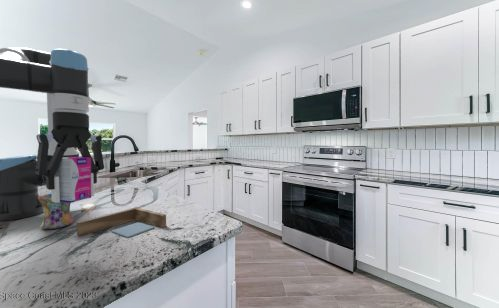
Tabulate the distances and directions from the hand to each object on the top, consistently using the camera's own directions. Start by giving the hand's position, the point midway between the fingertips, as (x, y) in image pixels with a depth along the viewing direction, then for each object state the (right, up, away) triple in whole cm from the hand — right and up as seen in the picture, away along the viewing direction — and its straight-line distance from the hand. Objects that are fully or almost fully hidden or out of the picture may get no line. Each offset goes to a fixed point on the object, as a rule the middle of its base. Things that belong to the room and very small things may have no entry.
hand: (73, 198), depth 60 cm
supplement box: (0, -1, 0) cm, 1 cm away
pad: (+10, -13, +12) cm, 20 cm away
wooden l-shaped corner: (+7, -13, +11) cm, 18 cm away
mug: (-19, -13, +17) cm, 28 cm away
